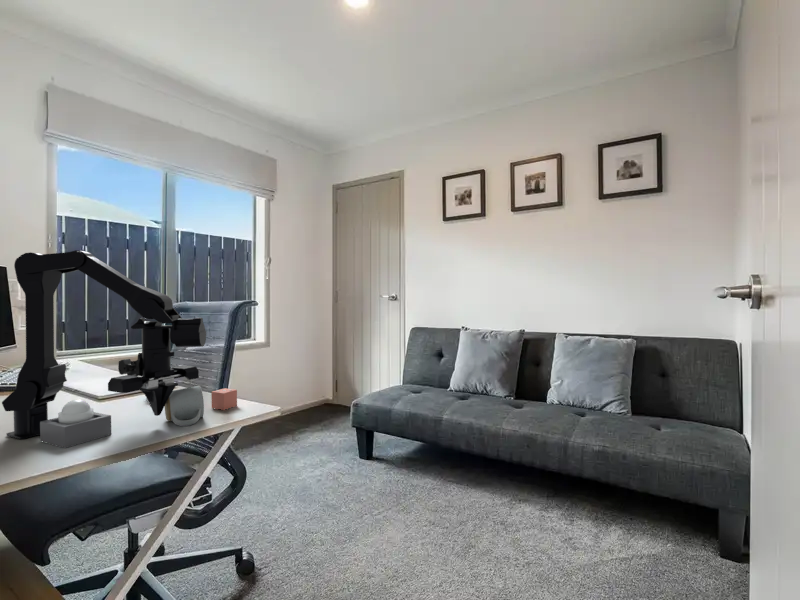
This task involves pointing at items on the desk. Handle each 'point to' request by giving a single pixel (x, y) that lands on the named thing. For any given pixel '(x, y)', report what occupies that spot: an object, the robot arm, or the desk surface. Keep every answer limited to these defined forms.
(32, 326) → the robot arm
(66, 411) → the dome
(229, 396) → the salmon red block
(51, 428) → the dome base
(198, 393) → the ceramic mug
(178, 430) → the desk surface
